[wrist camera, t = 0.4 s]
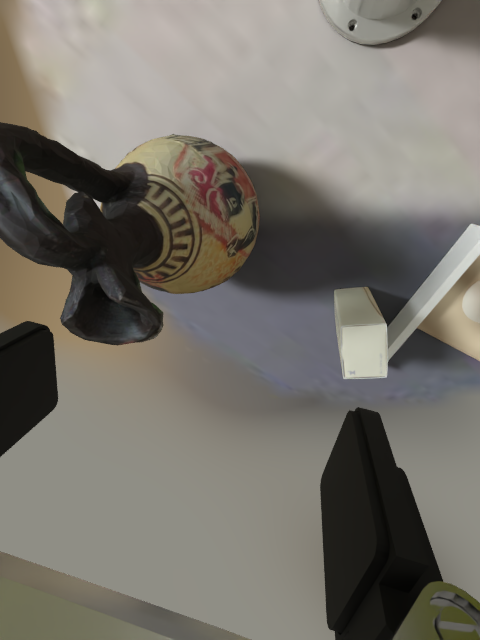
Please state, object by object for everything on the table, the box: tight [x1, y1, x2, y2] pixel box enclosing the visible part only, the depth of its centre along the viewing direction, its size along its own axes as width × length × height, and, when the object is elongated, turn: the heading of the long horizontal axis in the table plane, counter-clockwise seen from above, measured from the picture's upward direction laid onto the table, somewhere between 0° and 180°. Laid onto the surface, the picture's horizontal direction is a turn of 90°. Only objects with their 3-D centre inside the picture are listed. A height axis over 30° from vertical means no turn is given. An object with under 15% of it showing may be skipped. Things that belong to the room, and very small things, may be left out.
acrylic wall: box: [387, 224, 480, 361], centre depth 38 cm, size 20×1×4 cm, turn 155°
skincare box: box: [334, 287, 388, 379], centre depth 37 cm, size 6×4×12 cm
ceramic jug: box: [0, 122, 260, 345], centre depth 27 cm, size 17×15×30 cm
